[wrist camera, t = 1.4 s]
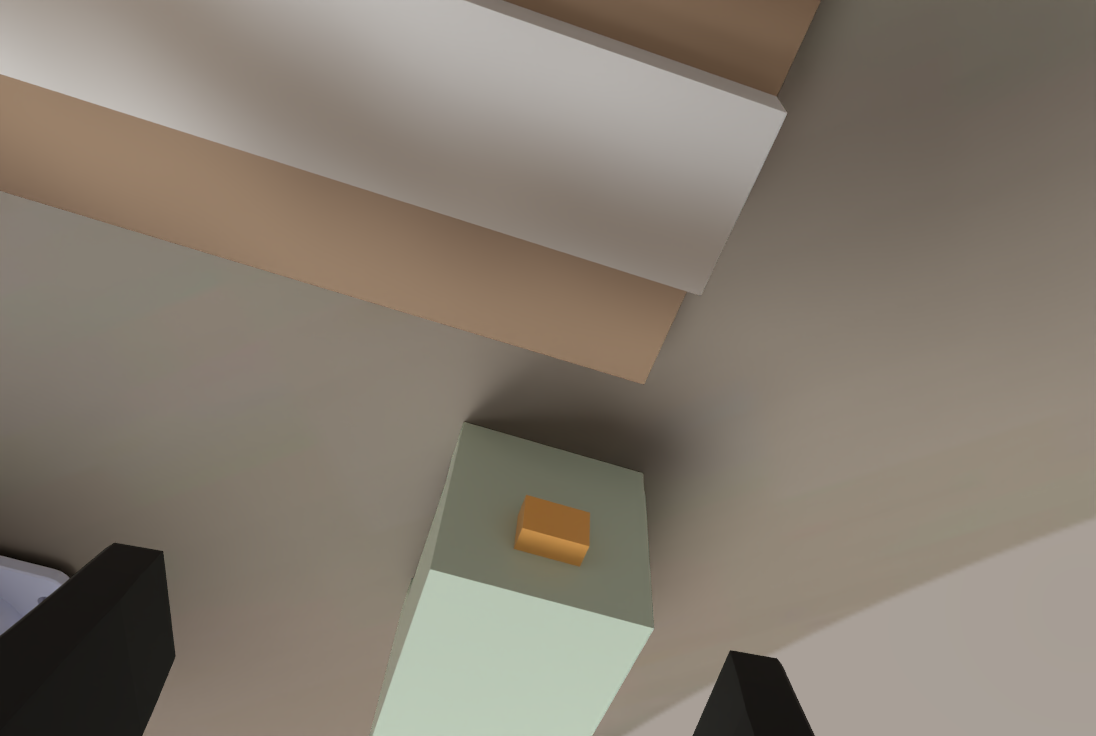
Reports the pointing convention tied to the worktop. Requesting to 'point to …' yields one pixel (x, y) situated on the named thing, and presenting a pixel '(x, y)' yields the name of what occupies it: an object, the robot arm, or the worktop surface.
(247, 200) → the rail base
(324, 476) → the worktop surface
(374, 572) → the worktop surface
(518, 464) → the block
